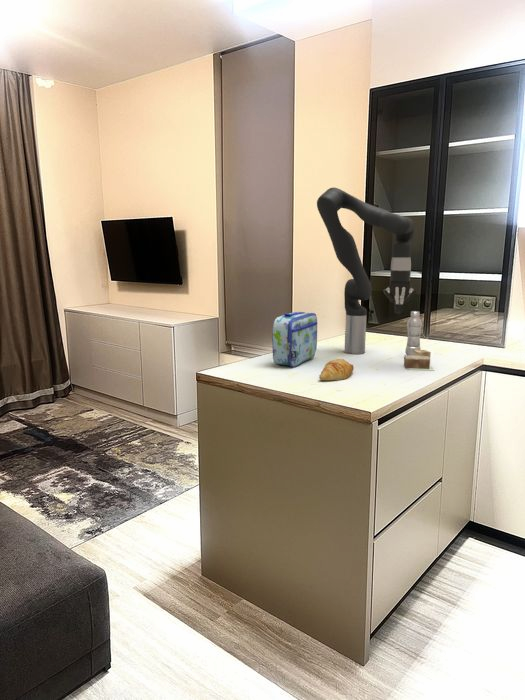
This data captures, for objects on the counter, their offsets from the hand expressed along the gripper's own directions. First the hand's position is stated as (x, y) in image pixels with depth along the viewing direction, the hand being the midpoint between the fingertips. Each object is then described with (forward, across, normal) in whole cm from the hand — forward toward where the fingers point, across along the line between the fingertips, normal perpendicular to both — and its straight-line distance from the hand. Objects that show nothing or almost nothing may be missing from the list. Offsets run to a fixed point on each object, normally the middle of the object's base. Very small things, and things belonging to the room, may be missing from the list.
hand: (398, 313), depth 206 cm
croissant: (+22, -24, -21) cm, 39 cm away
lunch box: (+22, -41, +2) cm, 46 cm away
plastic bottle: (+22, +10, +21) cm, 32 cm away
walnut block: (+19, +4, 0) cm, 20 cm away
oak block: (+22, +12, +9) cm, 26 cm away
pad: (+21, +9, -1) cm, 23 cm away
